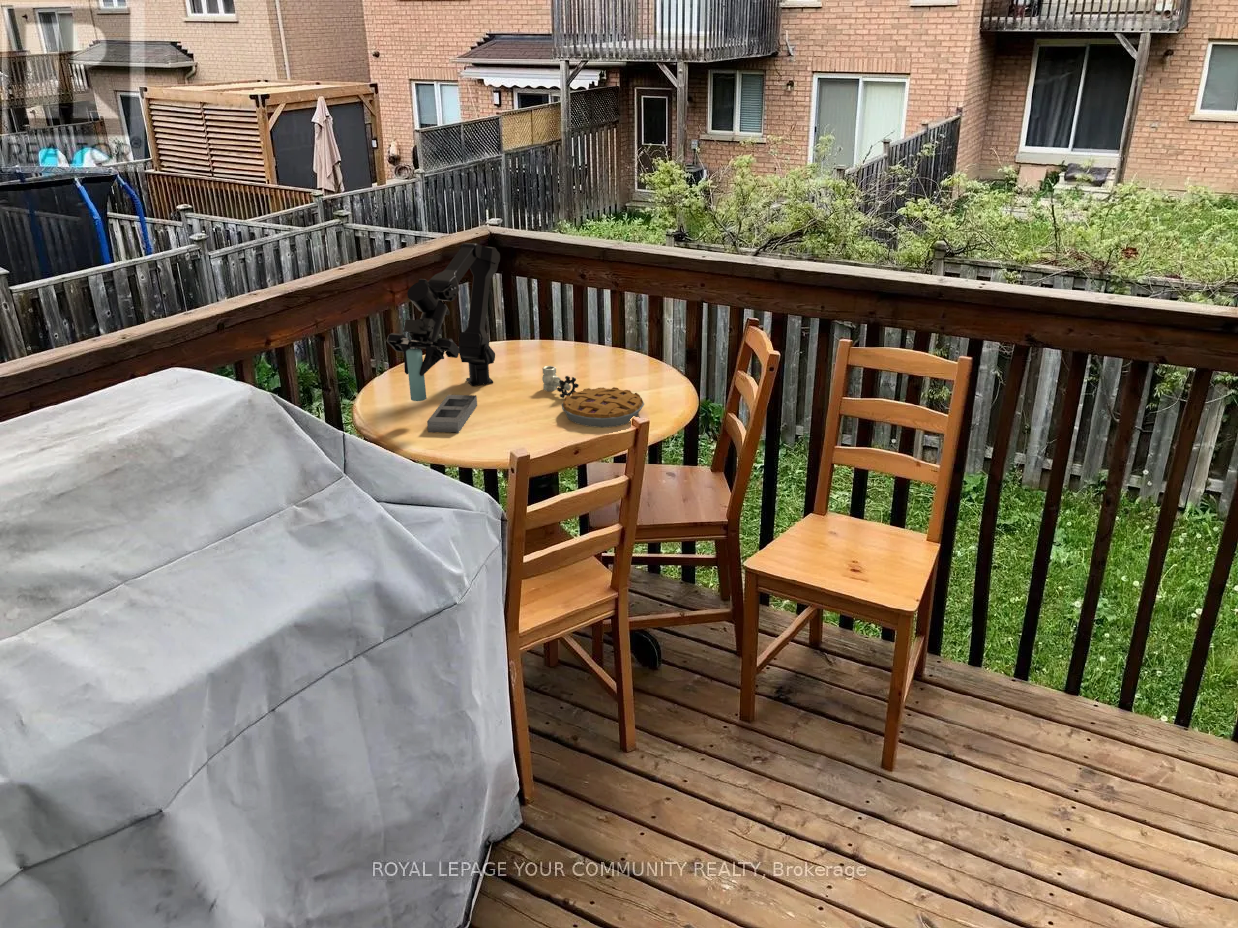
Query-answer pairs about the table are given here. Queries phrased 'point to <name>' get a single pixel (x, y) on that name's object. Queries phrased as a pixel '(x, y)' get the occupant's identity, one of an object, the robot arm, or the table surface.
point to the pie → (602, 407)
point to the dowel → (416, 375)
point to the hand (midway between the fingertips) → (413, 374)
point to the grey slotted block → (452, 413)
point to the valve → (557, 382)
